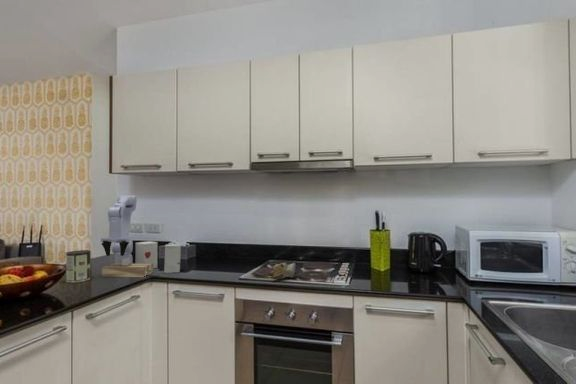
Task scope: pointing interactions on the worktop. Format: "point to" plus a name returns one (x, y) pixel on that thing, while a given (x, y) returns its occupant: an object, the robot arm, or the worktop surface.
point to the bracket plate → (125, 261)
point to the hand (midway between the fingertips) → (115, 255)
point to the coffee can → (78, 266)
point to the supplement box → (146, 253)
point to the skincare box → (172, 258)
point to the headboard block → (127, 270)
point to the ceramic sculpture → (282, 271)
